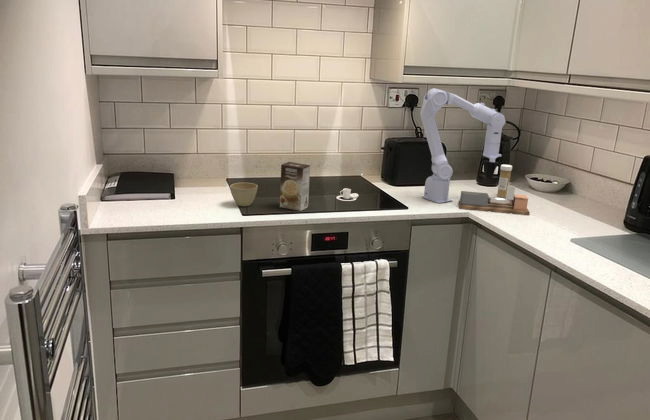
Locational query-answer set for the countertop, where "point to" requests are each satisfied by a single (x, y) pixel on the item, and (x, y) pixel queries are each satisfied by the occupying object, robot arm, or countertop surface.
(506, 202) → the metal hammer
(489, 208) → the walnut board
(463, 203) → the sleeve
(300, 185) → the coffee box
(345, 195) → the teacup and saucer
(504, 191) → the sprinkles bottle
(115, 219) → the countertop surface
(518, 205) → the socket
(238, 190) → the bowl
